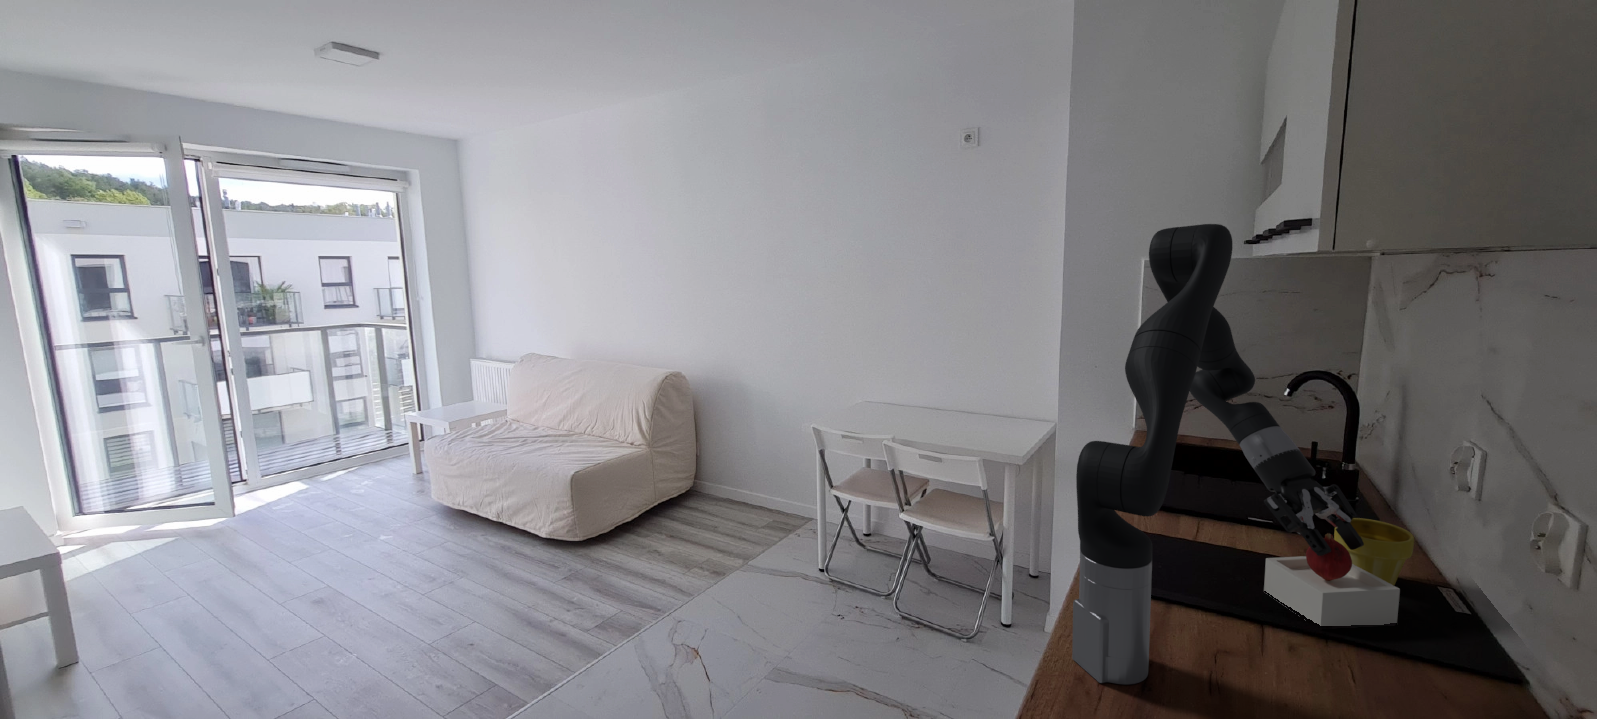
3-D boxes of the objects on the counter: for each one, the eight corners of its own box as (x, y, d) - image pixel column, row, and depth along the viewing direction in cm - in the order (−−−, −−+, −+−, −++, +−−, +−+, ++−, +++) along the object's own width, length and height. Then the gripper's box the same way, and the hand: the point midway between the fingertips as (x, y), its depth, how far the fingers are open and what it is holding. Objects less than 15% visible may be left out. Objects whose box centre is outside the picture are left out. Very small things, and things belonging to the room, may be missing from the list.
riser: (1320, 631, 100) (1322, 592, 99) (1263, 593, 112) (1265, 558, 111) (1396, 627, 100) (1400, 588, 99) (1332, 589, 112) (1334, 554, 111)
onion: (1359, 589, 102) (1361, 542, 101) (1317, 588, 104) (1319, 542, 102) (1337, 571, 108) (1339, 526, 107) (1298, 571, 109) (1299, 526, 108)
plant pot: (1419, 601, 107) (1425, 545, 105) (1340, 589, 111) (1344, 536, 110) (1396, 573, 116) (1401, 521, 114) (1324, 564, 121) (1327, 514, 119)
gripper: (1257, 452, 108) (1325, 548, 98) (1324, 443, 111) (1396, 535, 102) (1228, 473, 114) (1289, 566, 104) (1292, 463, 117) (1357, 552, 108)
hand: (1341, 550), depth 103 cm, fingers open, 6 cm apart
